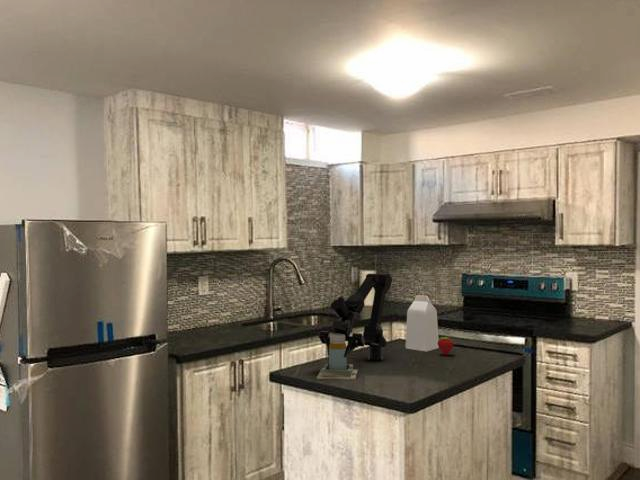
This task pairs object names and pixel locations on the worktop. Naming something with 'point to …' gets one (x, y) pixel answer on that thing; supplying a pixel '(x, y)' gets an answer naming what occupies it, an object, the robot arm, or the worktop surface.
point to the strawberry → (445, 345)
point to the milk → (422, 325)
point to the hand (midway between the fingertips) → (336, 356)
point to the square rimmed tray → (338, 373)
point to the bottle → (337, 352)
